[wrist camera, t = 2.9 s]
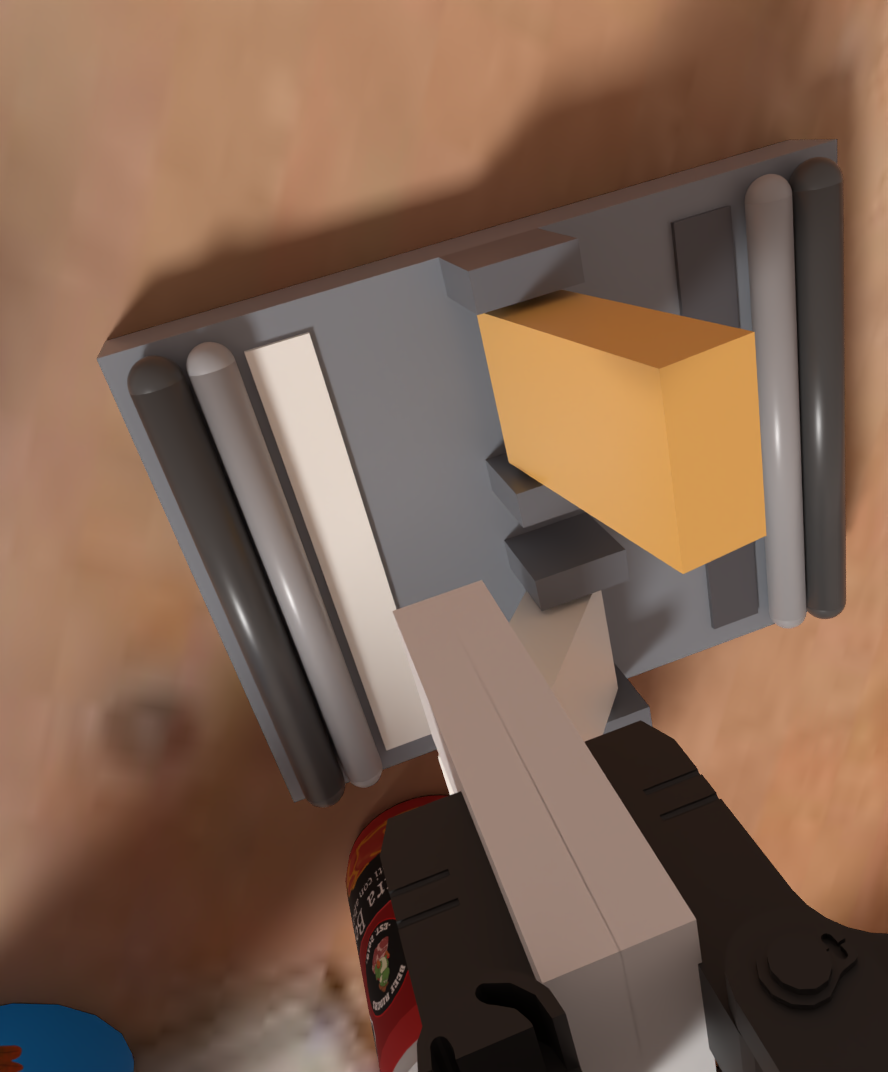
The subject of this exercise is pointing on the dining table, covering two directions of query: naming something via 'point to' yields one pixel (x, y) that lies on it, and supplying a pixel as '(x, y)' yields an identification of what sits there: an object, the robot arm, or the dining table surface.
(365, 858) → the canned food
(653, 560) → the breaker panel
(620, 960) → the robot arm
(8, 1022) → the thermos
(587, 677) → the block
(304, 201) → the dining table surface
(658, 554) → the block
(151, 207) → the dining table surface
